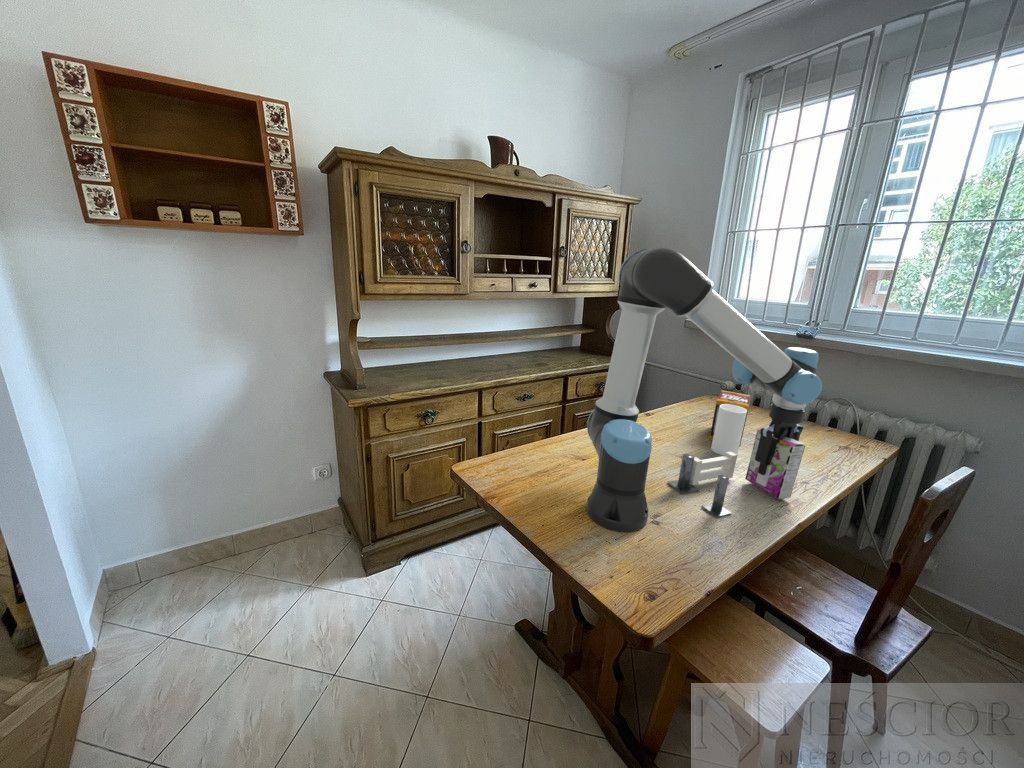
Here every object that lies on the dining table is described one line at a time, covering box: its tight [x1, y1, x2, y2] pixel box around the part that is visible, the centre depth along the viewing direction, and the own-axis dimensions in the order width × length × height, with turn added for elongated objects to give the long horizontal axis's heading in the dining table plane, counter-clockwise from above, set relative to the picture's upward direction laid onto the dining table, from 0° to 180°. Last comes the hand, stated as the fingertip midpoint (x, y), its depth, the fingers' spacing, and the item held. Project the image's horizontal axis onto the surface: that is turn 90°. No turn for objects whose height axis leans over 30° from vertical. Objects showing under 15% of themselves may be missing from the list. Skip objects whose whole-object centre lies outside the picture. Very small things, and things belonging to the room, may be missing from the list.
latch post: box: [701, 475, 733, 519], centre depth 103 cm, size 5×5×10 cm
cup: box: [710, 404, 747, 456], centre depth 137 cm, size 8×8×16 cm
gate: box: [690, 451, 738, 486], centre depth 117 cm, size 16×2×8 cm, turn 110°
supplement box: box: [708, 389, 752, 447], centre depth 150 cm, size 10×15×16 cm
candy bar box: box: [745, 428, 806, 500], centre depth 112 cm, size 11×5×16 cm, turn 17°
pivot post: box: [667, 453, 700, 496], centre depth 114 cm, size 6×6×10 cm
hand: (768, 482), depth 114 cm, fingers closed on candy bar box, 5 cm apart
